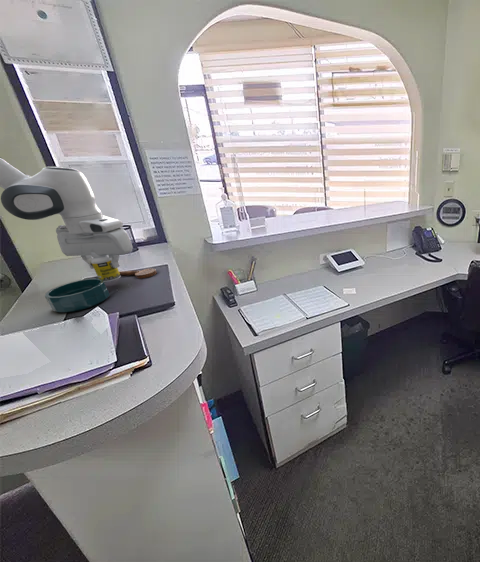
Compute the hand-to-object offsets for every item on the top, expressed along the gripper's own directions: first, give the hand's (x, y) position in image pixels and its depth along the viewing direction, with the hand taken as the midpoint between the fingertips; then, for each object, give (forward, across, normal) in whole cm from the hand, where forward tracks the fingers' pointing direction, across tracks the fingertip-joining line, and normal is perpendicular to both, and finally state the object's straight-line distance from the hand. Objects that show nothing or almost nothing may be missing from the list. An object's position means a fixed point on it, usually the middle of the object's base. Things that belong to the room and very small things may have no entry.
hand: (105, 267), depth 97 cm
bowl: (+6, +1, -12) cm, 13 cm away
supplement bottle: (+4, 0, 0) cm, 4 cm away
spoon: (+6, -2, +8) cm, 10 cm away
